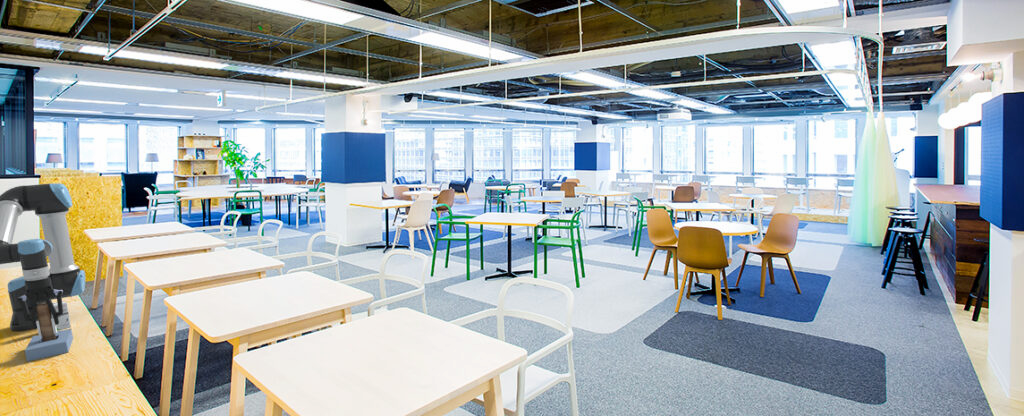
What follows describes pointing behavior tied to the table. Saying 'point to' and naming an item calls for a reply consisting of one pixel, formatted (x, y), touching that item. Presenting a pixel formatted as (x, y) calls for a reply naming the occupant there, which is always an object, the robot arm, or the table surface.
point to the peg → (45, 322)
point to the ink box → (63, 317)
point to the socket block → (49, 345)
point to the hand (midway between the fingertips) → (48, 333)
